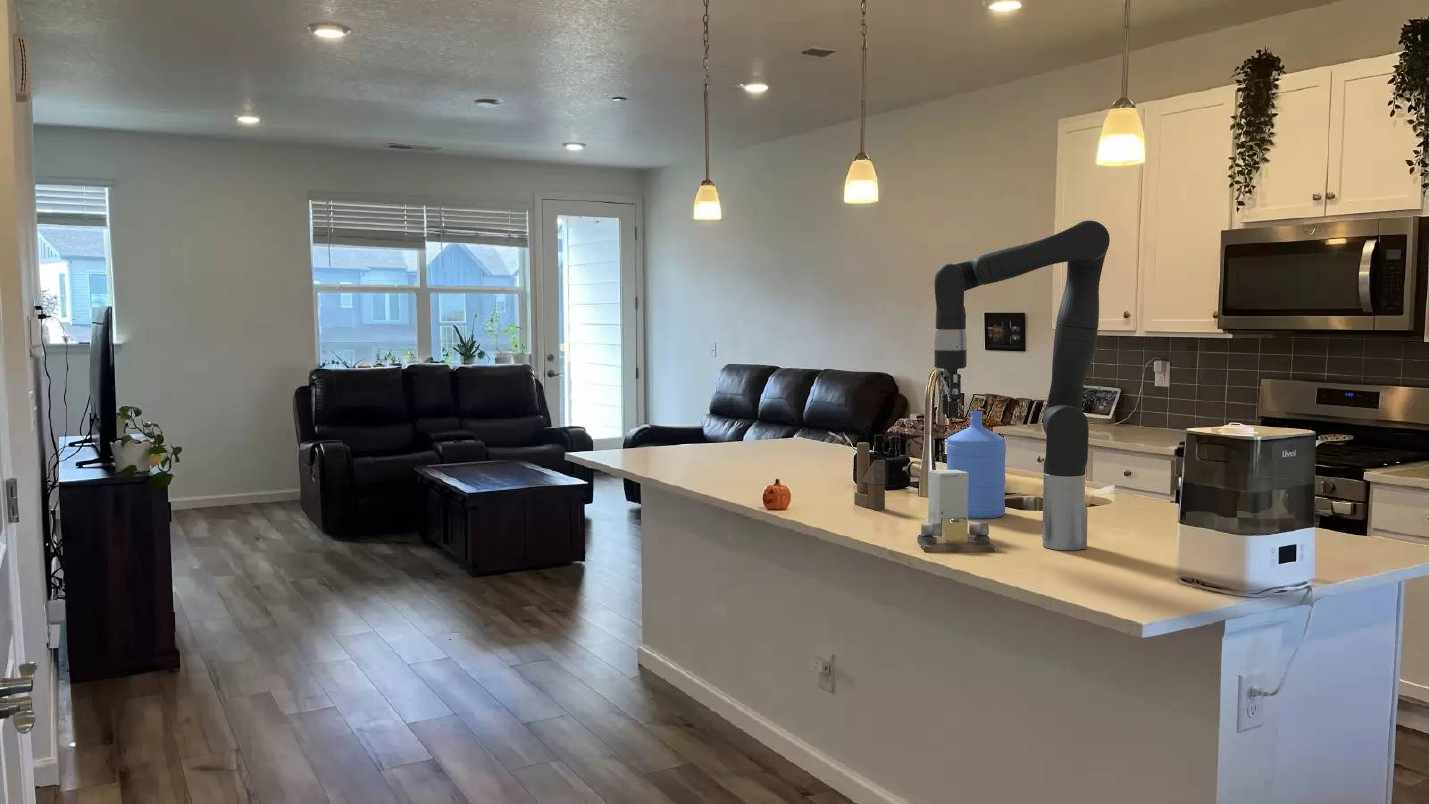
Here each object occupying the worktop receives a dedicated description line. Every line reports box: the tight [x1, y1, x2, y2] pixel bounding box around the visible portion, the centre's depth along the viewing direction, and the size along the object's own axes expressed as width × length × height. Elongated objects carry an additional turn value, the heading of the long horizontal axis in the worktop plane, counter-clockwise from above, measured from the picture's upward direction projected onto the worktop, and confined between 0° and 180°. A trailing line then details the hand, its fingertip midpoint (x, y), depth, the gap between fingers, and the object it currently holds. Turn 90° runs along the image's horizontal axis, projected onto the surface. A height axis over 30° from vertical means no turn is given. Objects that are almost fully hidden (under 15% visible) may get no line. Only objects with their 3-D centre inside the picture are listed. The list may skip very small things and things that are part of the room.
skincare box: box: [927, 469, 969, 524], centre depth 258 cm, size 8×7×16 cm
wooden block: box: [853, 441, 886, 511], centre depth 293 cm, size 4×11×18 cm, turn 24°
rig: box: [916, 522, 996, 553], centre depth 242 cm, size 16×11×6 cm, turn 87°
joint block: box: [941, 518, 969, 544], centre depth 242 cm, size 5×5×5 cm
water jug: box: [946, 410, 1007, 520], centre depth 280 cm, size 16×16×28 cm
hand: (950, 415), depth 248 cm, fingers open, 8 cm apart
